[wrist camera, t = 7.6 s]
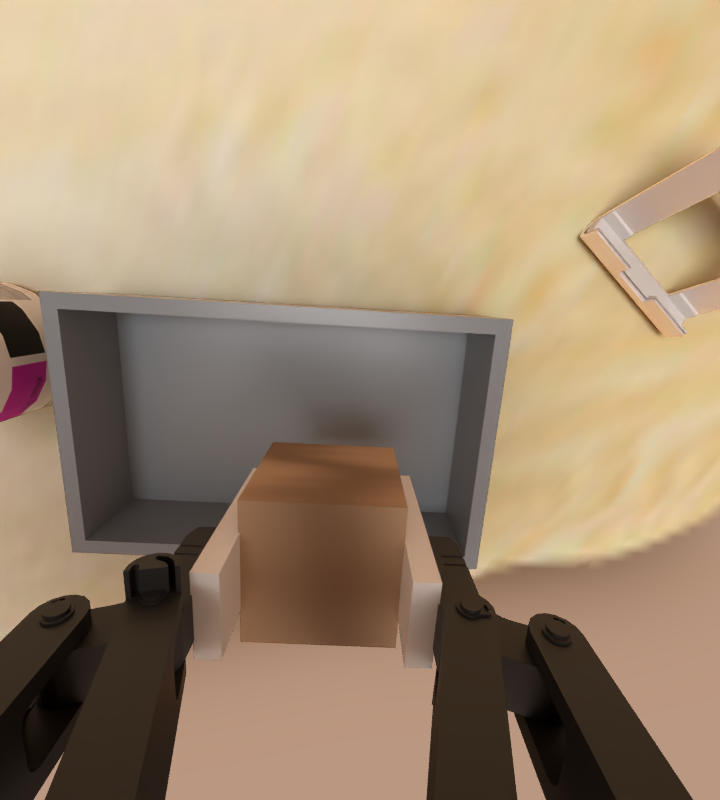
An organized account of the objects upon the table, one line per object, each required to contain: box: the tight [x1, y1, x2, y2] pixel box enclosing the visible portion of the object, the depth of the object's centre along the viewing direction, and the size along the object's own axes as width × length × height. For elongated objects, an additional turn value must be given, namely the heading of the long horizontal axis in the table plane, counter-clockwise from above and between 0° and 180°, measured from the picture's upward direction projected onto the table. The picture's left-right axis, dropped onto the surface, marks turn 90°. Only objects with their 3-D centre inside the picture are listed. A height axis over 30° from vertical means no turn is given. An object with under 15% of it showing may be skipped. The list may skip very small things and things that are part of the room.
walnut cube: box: [237, 442, 408, 648], centre depth 15 cm, size 5×5×5 cm
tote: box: [39, 291, 513, 569], centre depth 24 cm, size 24×15×6 cm, turn 87°
